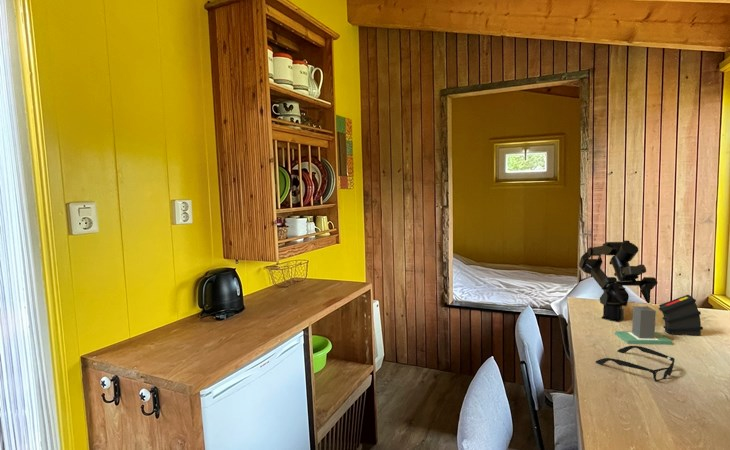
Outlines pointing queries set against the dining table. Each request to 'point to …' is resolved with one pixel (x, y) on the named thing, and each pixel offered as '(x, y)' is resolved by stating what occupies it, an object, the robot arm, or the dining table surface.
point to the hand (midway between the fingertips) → (636, 302)
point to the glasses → (627, 364)
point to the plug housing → (643, 322)
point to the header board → (633, 339)
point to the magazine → (681, 316)
